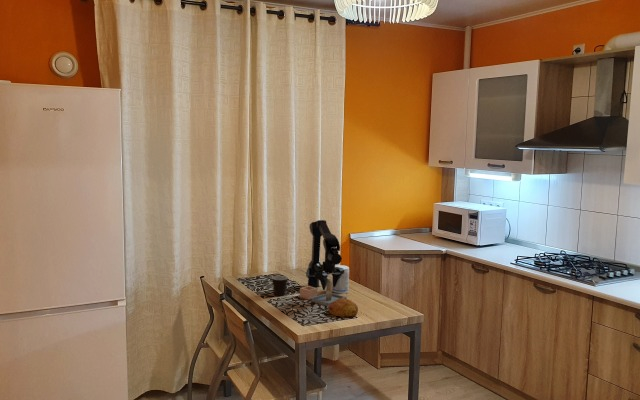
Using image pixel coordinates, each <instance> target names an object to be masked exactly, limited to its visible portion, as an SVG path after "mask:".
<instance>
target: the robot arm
mask: <svg viewBox="0 0 640 400" xmlns="http://www.w3.org/2000/svg"><path fill="white" fill-rule="evenodd" d="M309 232H310V234H311V235H312V241H311V242H312V243H311V260H310V262H309V263H308V267H307V269H306V272H305V277H306V278H307V279H308V280H307V286H311V287H315V288H317V289H318V288H322V290H323V291H326V285H327V281H328V279H329V278H328V276H332V278H333V287H335V286H336V284H337V282H338V280H339V279H340V277H341V276H342V274H344V269H343V268H340V267H335V266H336V265H340V264H341V262H342V260H343V258H342V256H341V254H339V252H340V251H341V245H340V242H339V239H338V238H337V236H336V235H335V234H333V233H332V232H331V229H330V228H329V227H328V223H327V220H325V219H323V220H322V219H321V220H320V219H319V220H316V221H312V222H311V223H310V224H309ZM321 238H323V240H322V244H323V245H322V246H323V248H324V260H323V262H322V264H321V262H320V258H321V257H320V255H321ZM320 284H321V286H320Z"/></svg>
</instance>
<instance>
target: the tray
mask: <svg viewBox="0 0 640 400" xmlns="http://www.w3.org/2000/svg"><path fill="white" fill-rule="evenodd" d="M340 298H345V299H348V298H347V296H346V295H345V296H344V295H341V294H339V293H335V292H334V293H333V292H332V300H330V301H328V300H326V293H322V294H319V295H317V296H316V297H313V298H311V299H310V302H312V303H315V304H319V305H322V306H324V307H325V306H326V307H328V306H329V305H330V304H331V303H332V302H333V301H335V300H337V299H340Z"/></svg>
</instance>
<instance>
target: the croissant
mask: <svg viewBox="0 0 640 400" xmlns="http://www.w3.org/2000/svg"><path fill="white" fill-rule="evenodd" d="M327 309H328V310H327V311H328V312H329V314H331V315H333V316H335V317H339V318H346V317H355V316H356V315H357V314H358V313H359V312H358V311H359V306H357V304H356V303H355V302H354V301H352V300H351V299H348V298H347V299H345V298H340V299H337V300H335V301H333V302H332V303H331V304H330V305H329V306H327Z"/></svg>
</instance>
